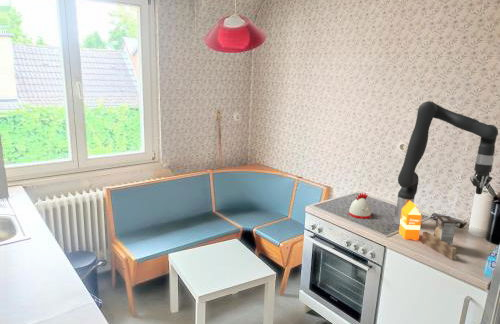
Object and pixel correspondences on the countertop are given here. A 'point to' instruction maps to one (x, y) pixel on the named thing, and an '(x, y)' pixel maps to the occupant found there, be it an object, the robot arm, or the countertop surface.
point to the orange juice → (410, 221)
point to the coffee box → (445, 229)
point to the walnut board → (439, 245)
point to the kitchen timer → (360, 207)
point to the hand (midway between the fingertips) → (478, 193)
